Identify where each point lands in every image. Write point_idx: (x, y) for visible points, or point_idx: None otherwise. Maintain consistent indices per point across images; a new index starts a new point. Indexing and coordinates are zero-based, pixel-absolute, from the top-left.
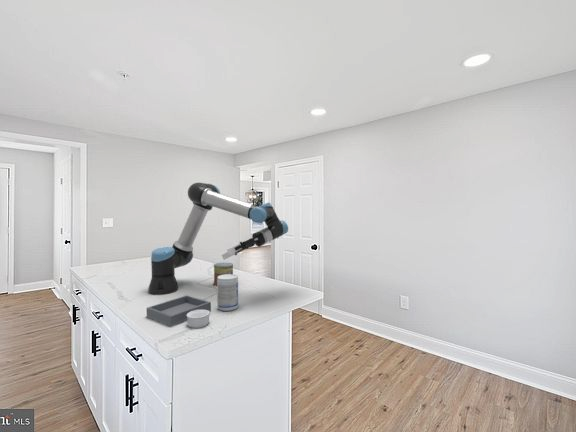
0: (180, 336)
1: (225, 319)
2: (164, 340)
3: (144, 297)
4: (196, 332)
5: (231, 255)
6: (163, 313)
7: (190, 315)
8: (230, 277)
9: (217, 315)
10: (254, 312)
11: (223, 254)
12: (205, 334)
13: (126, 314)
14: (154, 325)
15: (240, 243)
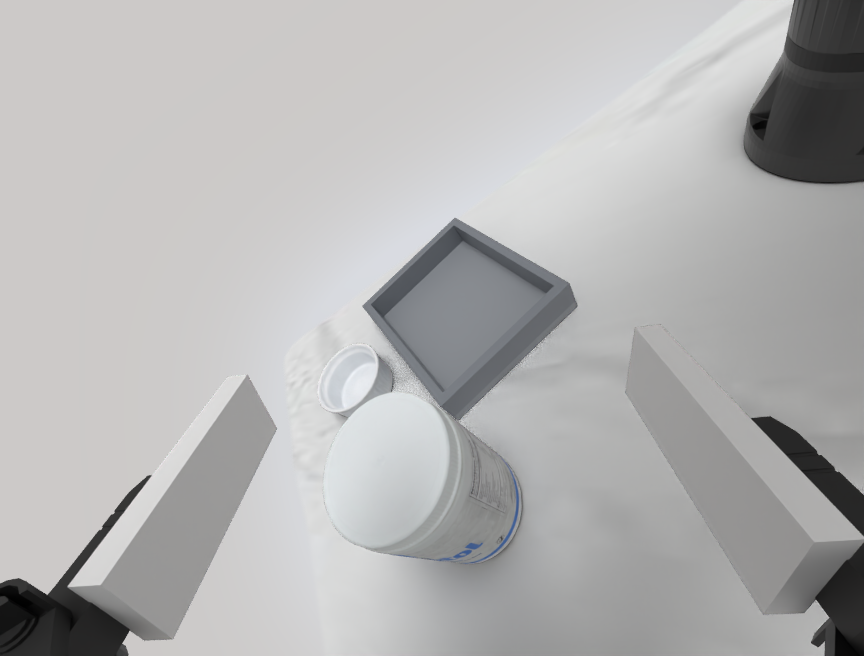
0: (321, 359)
1: None
2: (321, 331)
3: (694, 126)
4: None
5: (700, 502)
6: (392, 279)
7: (369, 354)
8: (346, 480)
9: None
10: (372, 640)
11: (645, 346)
12: (301, 417)
13: (504, 183)
14: None
15: (18, 602)
